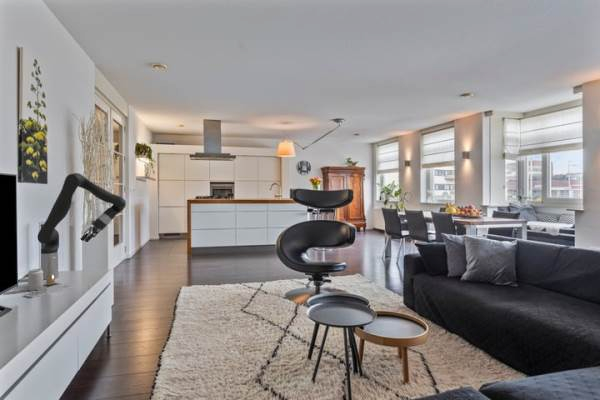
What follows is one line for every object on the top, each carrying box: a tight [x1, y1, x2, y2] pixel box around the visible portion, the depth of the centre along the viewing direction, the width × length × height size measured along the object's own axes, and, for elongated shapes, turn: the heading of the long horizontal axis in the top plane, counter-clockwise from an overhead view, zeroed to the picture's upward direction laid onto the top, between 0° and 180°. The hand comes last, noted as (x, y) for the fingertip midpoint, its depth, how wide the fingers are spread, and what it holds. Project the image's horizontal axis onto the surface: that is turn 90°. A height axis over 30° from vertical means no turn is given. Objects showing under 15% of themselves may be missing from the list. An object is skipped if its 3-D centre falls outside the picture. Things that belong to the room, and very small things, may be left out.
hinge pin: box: [45, 274, 56, 287], centre depth 208 cm, size 4×4×10 cm
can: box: [27, 268, 45, 292], centre depth 213 cm, size 8×8×12 cm
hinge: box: [24, 282, 76, 299], centre depth 208 cm, size 9×23×4 cm, turn 154°
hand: (83, 240), depth 229 cm, fingers open, 8 cm apart
